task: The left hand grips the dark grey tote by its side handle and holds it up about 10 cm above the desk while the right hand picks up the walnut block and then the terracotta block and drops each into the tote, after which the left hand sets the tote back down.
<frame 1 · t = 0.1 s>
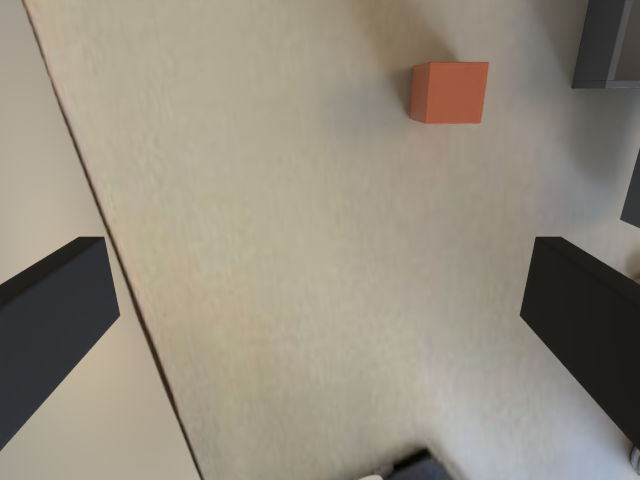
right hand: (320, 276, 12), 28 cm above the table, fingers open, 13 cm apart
terracotta block: (435, 93, 37), on the table
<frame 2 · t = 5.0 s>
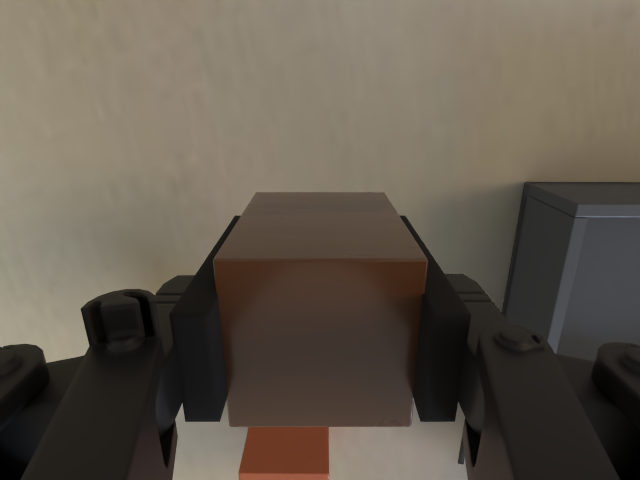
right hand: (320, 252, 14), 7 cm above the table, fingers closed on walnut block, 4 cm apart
terracotta block: (293, 418, 26), on the table
tote: (632, 311, 23), on the table, touching left hand
walnut block: (320, 252, 15), point 7 cm above the table, touching right hand
when the right hand's fingers open (17 cm above the table, at t = 8.4 s): walnut block drops 6 cm, resting on tote.
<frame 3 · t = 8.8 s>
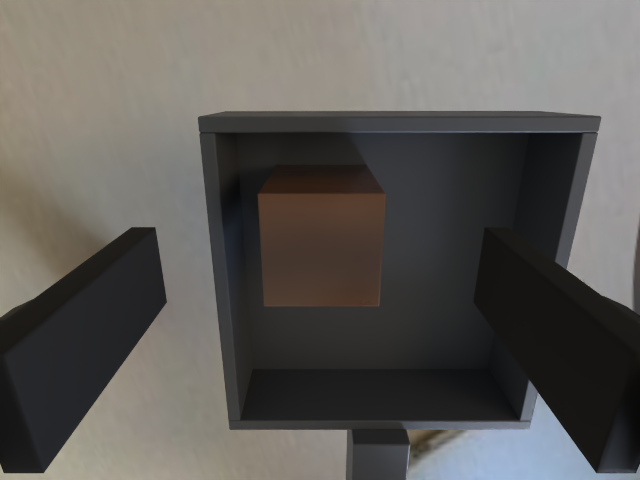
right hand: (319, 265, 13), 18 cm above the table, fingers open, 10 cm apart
tote: (374, 256, 22), point 10 cm above the table, touching left hand, walnut block
walnut block: (321, 208, 20), point 10 cm above the table, touching tote
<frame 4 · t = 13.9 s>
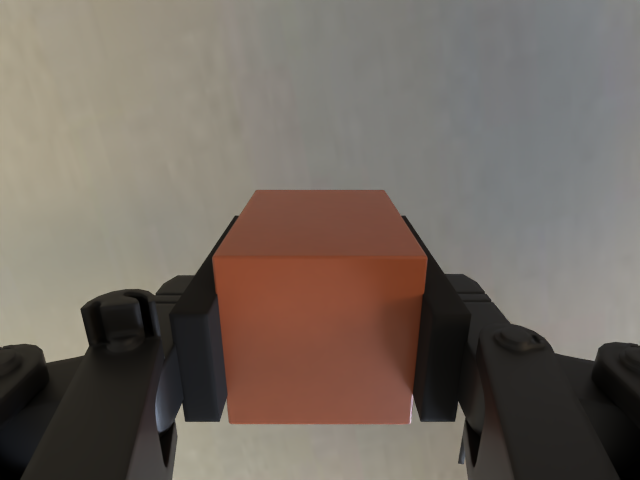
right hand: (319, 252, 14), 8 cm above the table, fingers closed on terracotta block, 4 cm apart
terracotta block: (320, 249, 15), point 8 cm above the table, touching right hand
when the right hand's fingers open (17 cm above the table, at t = 17.1 s): terracotta block drops 6 cm, resting on tote.
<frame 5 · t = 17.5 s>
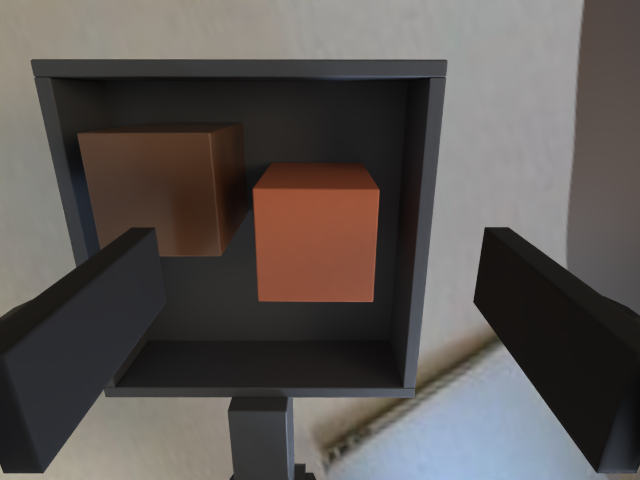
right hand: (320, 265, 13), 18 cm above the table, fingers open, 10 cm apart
terracotta block: (317, 206, 20), point 10 cm above the table, touching tote
tote: (264, 222, 21), point 10 cm above the table, touching left hand, terracotta block, walnut block
walnut block: (200, 169, 20), point 10 cm above the table, touching tote
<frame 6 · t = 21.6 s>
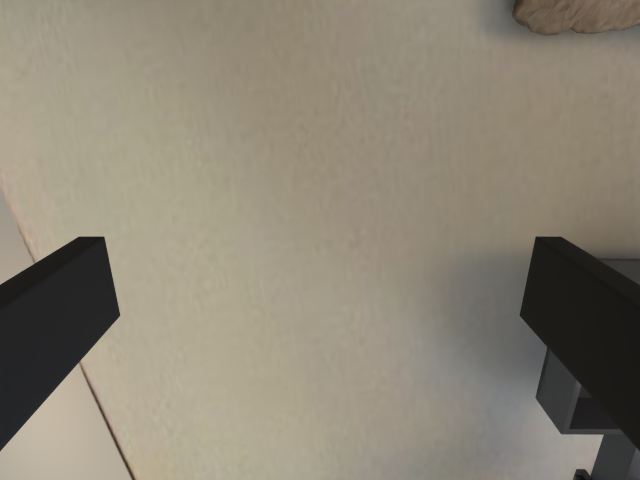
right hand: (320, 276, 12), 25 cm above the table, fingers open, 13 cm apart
tote: (631, 333, 37), point 4 cm above the table, touching left hand, terracotta block, walnut block
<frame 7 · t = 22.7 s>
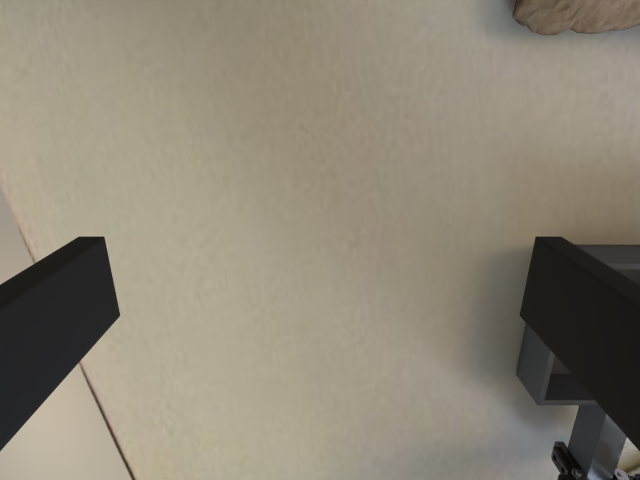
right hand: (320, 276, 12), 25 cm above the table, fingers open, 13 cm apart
tote: (602, 313, 41), on the table, touching left hand, terracotta block, walnut block
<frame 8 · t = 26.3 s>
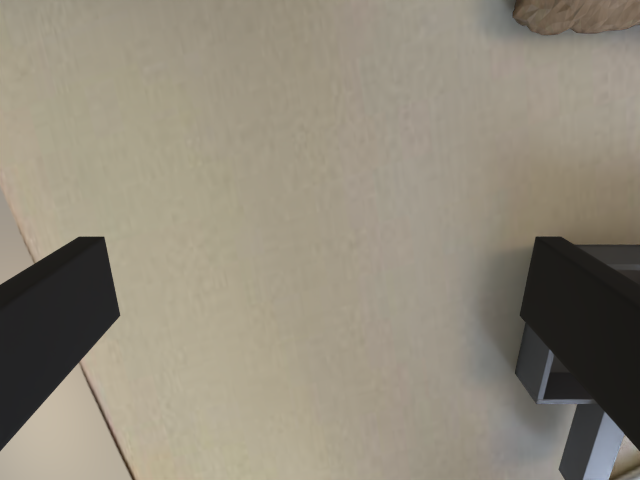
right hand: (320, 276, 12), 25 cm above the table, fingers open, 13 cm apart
tote: (601, 313, 41), on the table, touching terracotta block, walnut block
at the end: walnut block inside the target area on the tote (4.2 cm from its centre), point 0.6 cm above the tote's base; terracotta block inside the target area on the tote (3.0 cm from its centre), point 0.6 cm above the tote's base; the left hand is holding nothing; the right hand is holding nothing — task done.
